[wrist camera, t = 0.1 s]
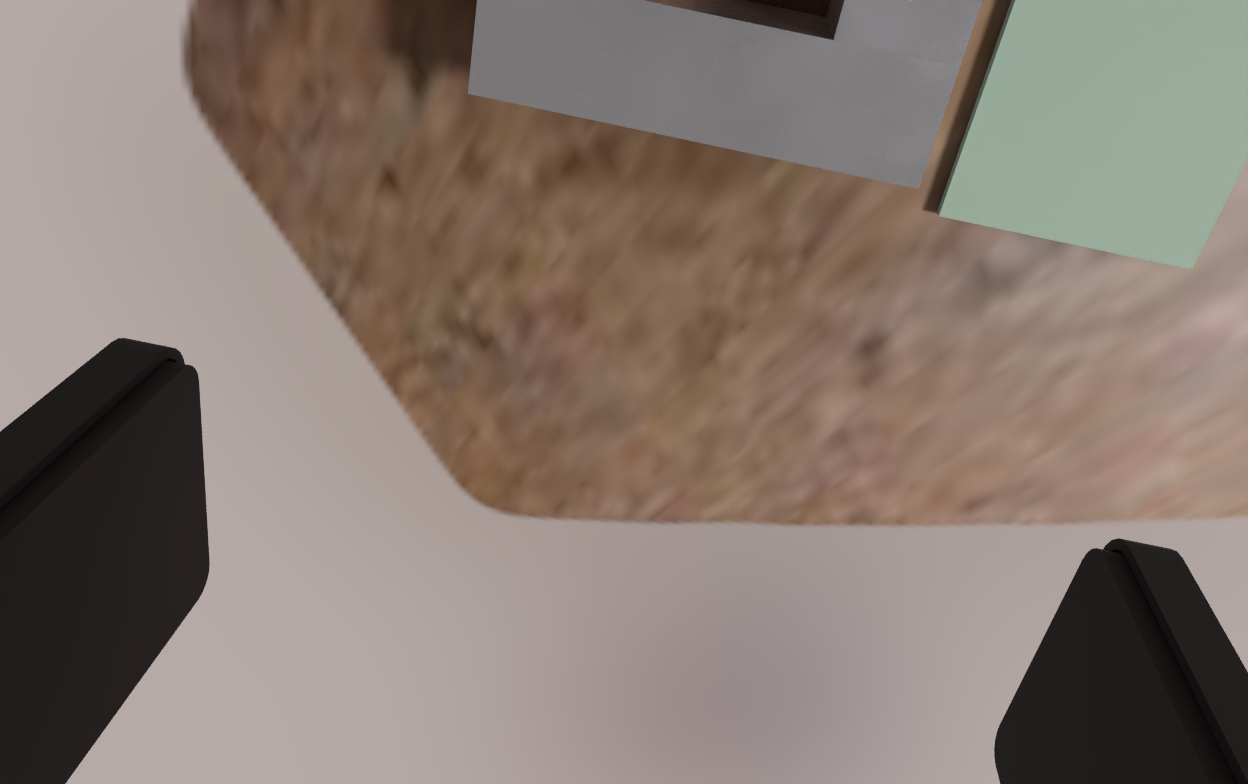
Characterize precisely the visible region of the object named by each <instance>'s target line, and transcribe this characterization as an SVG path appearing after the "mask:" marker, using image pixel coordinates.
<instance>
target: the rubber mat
mask: <svg viewBox="0 0 1248 784" xmlns="http://www.w3.org/2000/svg"><path fill="white" fill-rule="evenodd" d="M1247 158H1248V0H1011V3H1010V6H1009V9H1008V12H1007V14H1006V17H1005V20H1004V23H1003V26H1002V29H1001V31H1000V34H999V37H998V40H997V43H996V46H995V48H994V51H993V54H992V57H991V60H990V63H989V65H988V68H987V71H986V74H985V77H984V80H983V82H982V85H981V88H980V91H979V94H978V97H977V99H976V102H975V105H974V108H973V111H972V114H971V117H970V119H969V122H968V125H967V128H966V131H965V134H964V136H963V139H962V142H961V145H960V148H959V151H958V153H957V156H956V159H955V162H954V165H953V168H952V170H951V173H950V176H949V179H948V182H947V185H946V187H945V190H944V193H943V196H942V199H941V202H940V204H939V207H938V210H937V213H938V215H939V216H941V217H946V218H951V219H955V220H960V221H965V222H969V223H974V224H979V225H984V226H988V227H993V228H998V229H1002V230H1007V231H1012V232H1017V233H1021V234H1026V235H1031V236H1035V237H1040V238H1045V239H1049V240H1054V241H1059V242H1064V243H1068V244H1073V245H1078V246H1082V247H1087V248H1092V249H1097V250H1101V251H1106V252H1111V253H1115V254H1120V255H1125V256H1130V257H1134V258H1139V259H1144V260H1148V261H1153V262H1158V263H1163V264H1167V265H1172V266H1177V267H1181V268H1186V269H1191V270H1192V268H1193V266H1194V264H1195V262H1196V260H1197V258H1198V256H1199V254H1200V252H1201V250H1202V248H1203V246H1204V244H1205V242H1206V240H1207V238H1208V236H1209V234H1210V232H1211V230H1212V228H1213V226H1214V224H1215V222H1216V220H1217V218H1218V216H1219V214H1220V212H1221V210H1222V208H1223V206H1224V204H1225V202H1226V200H1227V198H1228V196H1229V194H1230V192H1231V190H1232V188H1233V186H1234V184H1235V182H1236V180H1237V178H1238V176H1239V174H1240V172H1241V170H1242V168H1243V166H1244V164H1245V162H1246V160H1247Z"/></svg>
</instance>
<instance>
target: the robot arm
mask: <svg viewBox="0 0 1248 784" xmlns="http://www.w3.org/2000/svg"><path fill="white" fill-rule="evenodd" d="M205 496H206V495H205V478H204V461H203V445H202V427H201V409H200V392H199V380H198V373H197V371H196V369H195V368H194V367H193V366H190V365H185V364H184V359H183V357H182V355H181V353H180V352H179V351H178V350H177V349H175V348H171V347H166V346H161V345H155V344H150V343H146V342H141V341H136V340H131V339H126V338H118V339H117V340H115V341H113V342H111V343H110V344H109V345H108V346H106V347H105V348H104V349H103V350H101V351H100V352H99V353H98V354H96V355H95V356H94V357H93V358H91V359H90V360H89V361H88V362H86V363H85V364H84V365H83V366H81V367H80V368H79V369H78V370H76V371H75V372H74V373H73V374H72V375H70V376H69V377H68V378H66V379H65V380H64V381H63V382H61V383H60V384H59V385H58V386H57V387H55V388H54V389H53V390H52V391H50V392H49V393H48V394H47V395H45V396H44V397H43V398H42V399H40V400H39V401H38V402H37V403H35V404H34V405H33V406H32V407H30V408H29V409H28V410H27V411H26V412H24V413H23V414H22V415H20V416H19V417H18V418H17V419H15V420H14V421H13V422H12V423H11V424H9V425H8V426H7V427H6V428H4V429H3V430H2V431H1V432H0V784H65V783H66V782H67V780H68V779H69V778H70V776H71V775H72V774H73V772H74V771H75V769H76V768H77V767H78V765H79V764H80V763H81V761H82V760H83V758H84V757H85V756H86V754H87V753H88V751H89V750H90V749H91V747H92V746H93V745H94V743H95V742H96V740H97V739H98V737H99V736H100V735H101V733H102V732H103V731H104V729H105V728H106V726H107V725H108V724H109V722H110V721H111V719H112V718H113V717H114V715H115V714H116V713H117V711H118V710H119V708H120V707H121V706H122V704H123V703H124V701H125V700H126V699H127V697H128V696H129V694H130V693H131V692H132V690H133V689H134V688H135V686H136V685H137V683H138V682H139V681H140V679H141V678H142V677H143V675H144V674H145V673H146V671H147V670H148V668H149V667H150V666H151V664H152V663H153V661H154V660H155V659H156V657H157V656H158V655H159V653H160V652H161V650H162V649H163V648H164V646H165V645H166V643H167V642H168V641H169V639H170V638H171V637H172V635H173V634H174V632H175V631H176V630H177V628H178V627H179V625H180V624H181V622H182V621H183V620H184V619H185V617H186V616H187V614H188V613H189V612H190V610H191V609H192V607H193V606H194V605H195V603H196V602H197V601H198V599H199V597H200V596H201V594H202V592H203V589H204V587H205V584H206V581H207V578H208V573H209V547H208V531H207V530H208V529H207V512H206V497H205ZM994 750H995V763H996V768H997V772H998V775H999V780H1000V784H1248V672H1247V670H1246V669H1245V667H1244V665H1243V664H1242V662H1241V660H1240V658H1239V656H1238V654H1237V653H1236V651H1235V649H1234V647H1233V646H1232V644H1231V642H1230V640H1229V639H1228V637H1227V635H1226V633H1225V632H1224V630H1223V628H1222V627H1221V625H1220V623H1219V621H1218V619H1217V618H1216V616H1215V614H1214V612H1213V611H1212V609H1211V607H1210V605H1209V604H1208V602H1207V600H1206V598H1205V597H1204V595H1203V593H1202V591H1201V590H1200V588H1199V586H1198V584H1197V583H1196V581H1195V579H1194V577H1193V576H1192V574H1191V572H1190V570H1189V568H1188V567H1187V565H1186V564H1185V561H1184V560H1183V558H1182V557H1181V556H1180V554H1179V553H1178V552H1177V551H1174V550H1172V549H1168V548H1163V547H1158V546H1153V545H1148V544H1143V543H1138V542H1133V541H1128V540H1123V539H1119V538H1118V539H1115V540H1111V541H1110V542H1109V543H1108V544H1107V545H1106V546H1105V547H1104V549H1103V550H1102V549H1097V548H1096V549H1091V550H1090V551H1089V552H1088V553H1087V554H1086V555H1085V557H1084V558H1083V560H1082V562H1081V564H1080V566H1079V568H1078V570H1077V572H1076V574H1075V576H1074V578H1073V580H1072V582H1071V584H1070V586H1069V588H1068V590H1067V592H1066V594H1065V596H1064V598H1063V600H1062V602H1061V604H1060V606H1059V608H1058V610H1057V612H1056V614H1055V616H1054V618H1053V620H1052V622H1051V624H1050V626H1049V628H1048V630H1047V632H1046V634H1045V636H1044V638H1043V640H1042V642H1041V644H1040V646H1039V648H1038V650H1037V652H1036V654H1035V656H1034V658H1033V660H1032V662H1031V664H1030V666H1029V668H1028V670H1027V672H1026V674H1025V676H1024V678H1023V680H1022V682H1021V684H1020V686H1019V688H1018V690H1017V692H1016V694H1015V696H1014V698H1013V700H1012V702H1011V704H1010V706H1009V708H1008V710H1007V712H1006V714H1005V716H1004V718H1003V720H1002V722H1001V724H1000V726H999V728H998V731H997V735H996V740H995V749H994Z"/></svg>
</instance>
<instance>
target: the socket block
mask: <svg viewBox="0 0 1248 784" xmlns="http://www.w3.org/2000/svg"><path fill="white" fill-rule="evenodd" d="M982 1H983V0H830V4H829V8H828V11H827V15H826V17H824V16H819V15H814V14H810V13H805V12H800V11H795V10H790V9H786V8H781V7H776V6H771V5H767V4H762V3H757V2H752V1H748V0H477V6H476V16H475V26H474V36H473V46H472V57H471V67H470V77H469V87H468V94H472V95H477V96H482V97H487V98H491V99H496V100H501V101H505V102H510V103H515V104H520V105H524V106H529V107H534V108H538V109H543V110H548V111H553V112H557V113H562V114H567V115H571V116H576V117H581V118H586V119H590V120H595V121H600V122H605V123H609V124H614V125H619V126H623V127H628V128H633V129H638V130H642V131H647V132H652V133H656V134H661V135H666V136H671V137H675V138H680V139H685V140H689V141H694V142H699V143H704V144H708V145H713V146H718V147H722V148H727V149H732V150H737V151H741V152H746V153H751V154H755V155H760V156H765V157H770V158H774V159H779V160H784V161H789V162H793V163H798V164H803V165H807V166H812V167H817V168H822V169H826V170H831V171H836V172H840V173H845V174H850V175H855V176H859V177H864V178H869V179H873V180H878V181H883V182H888V183H892V184H897V185H902V186H906V187H911V188H916V189H919V187H920V184H921V181H922V178H923V175H924V172H925V169H926V166H927V163H928V160H929V157H930V154H931V151H932V148H933V145H934V142H935V139H936V136H937V133H938V130H939V128H940V125H941V122H942V119H943V116H944V113H945V110H946V107H947V104H948V101H949V98H950V95H951V92H952V89H953V86H954V83H955V80H956V77H957V74H958V71H959V68H960V66H961V63H962V60H963V57H964V54H965V51H966V48H967V45H968V42H969V39H970V36H971V33H972V30H973V27H974V24H975V21H976V18H977V15H978V12H979V9H980V7H981V4H982Z"/></svg>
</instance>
